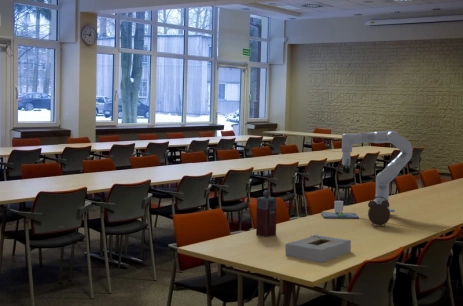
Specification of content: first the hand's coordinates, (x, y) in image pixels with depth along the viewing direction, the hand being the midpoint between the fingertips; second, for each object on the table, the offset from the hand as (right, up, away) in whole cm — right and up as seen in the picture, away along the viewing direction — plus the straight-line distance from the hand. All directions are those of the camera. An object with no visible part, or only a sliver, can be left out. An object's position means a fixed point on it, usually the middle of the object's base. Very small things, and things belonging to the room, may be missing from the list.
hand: (346, 172), depth 465 cm
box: (-39, -41, -127) cm, 139 cm away
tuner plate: (-8, -32, -15) cm, 36 cm away
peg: (-8, -30, -15) cm, 34 cm away
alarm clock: (+13, -35, -49) cm, 61 cm away
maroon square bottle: (-64, -37, -81) cm, 110 cm away
